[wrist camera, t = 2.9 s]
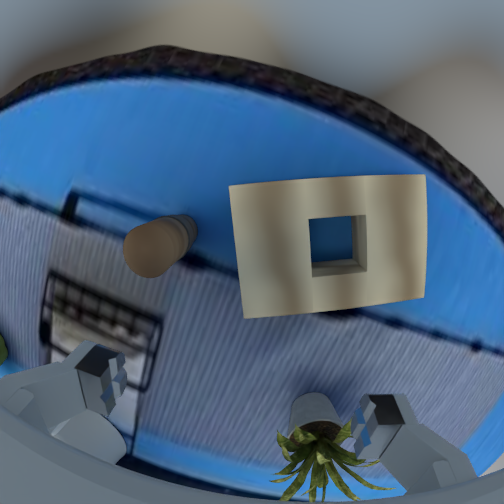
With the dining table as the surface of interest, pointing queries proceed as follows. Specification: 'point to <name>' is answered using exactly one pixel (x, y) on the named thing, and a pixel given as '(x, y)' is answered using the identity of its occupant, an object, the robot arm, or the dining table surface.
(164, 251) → the peg
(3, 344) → the plant pot
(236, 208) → the seat block
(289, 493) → the house plant
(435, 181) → the dining table surface
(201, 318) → the dining table surface
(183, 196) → the dining table surface
